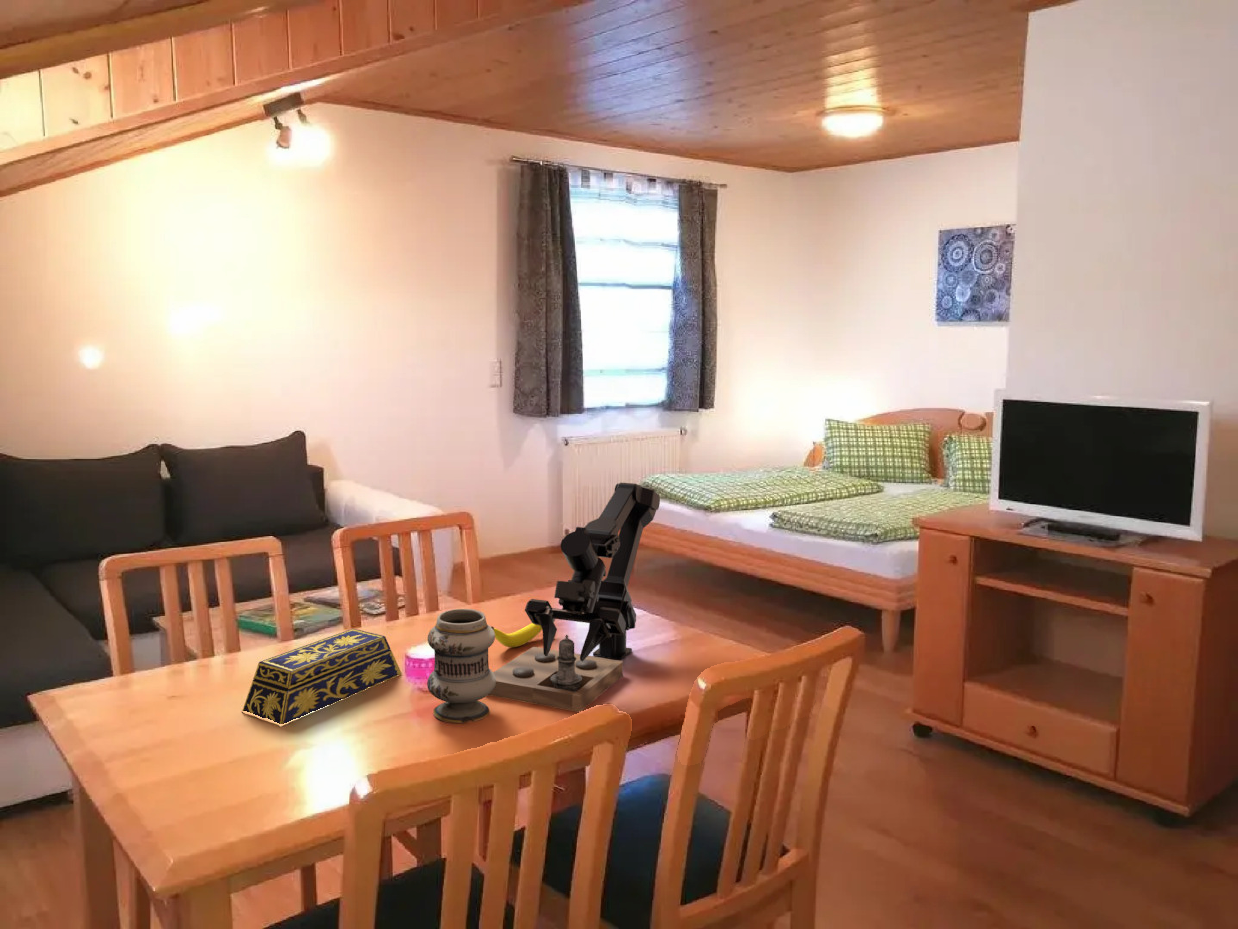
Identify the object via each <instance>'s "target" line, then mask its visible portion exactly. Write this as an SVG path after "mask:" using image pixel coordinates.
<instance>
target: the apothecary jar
mask: <svg viewBox="0 0 1238 929" xmlns="http://www.w3.org/2000/svg"><path fill="white" fill-rule="evenodd" d="M487 622H488V621H487V618H486V615H485V613H484V612H482V611H480V610H477V609H472V608H455V609H449V610H445V611H442V612H441V613H440V614H438V615H437V619H436V623H435V625H434V626H433V627H432V628H431V629H430V630H429V633H428V634H427V643H428V645H429V647H430V648H431V649H432V650H433V651H434V665H433V666H434V668H433V671H431V673H430V674H429V676H428V677H427V678H428V679H427V681H426V684H427V689H428V691H429V693H430V694H431V695H432V696H433V697H435V698H436V699H438V700H440V701H443V702H442V703H440V704H439V705H437V706H436V707H434V710H433V716H434V717H435V718H436V719H437V720H440V721H442V722H445V723H450V724H464V723H466V722H477V721H480V720H483V719H485V718H486V717H488V715H489V714H490V708H489V706H488V705H487V704H485V702H482V701H481V700H482V699H484V698H486V697H487V696H490V695H489V694H490V693H491V691H492V690H493V689H494V687H495V684H496V678H495V675H494V673H493V672H494V671H493V670H491V669H490V667H489V648H490V647H492V646H493V644H494V642H495V640H496V638H495V633H494V631H493V629H492V628H491V625H489V624H488V623H487Z"/></svg>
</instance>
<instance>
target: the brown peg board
mask: <svg viewBox="0 0 1238 929" xmlns="http://www.w3.org/2000/svg"><path fill="white" fill-rule="evenodd" d="M580 655H581V653H580V654H579V653H575V652H574V657H576V660H575V673H576V674H579V675H580V676H581V677H582V680H581V681H580V685H579V688H578V689H577V690H576V692H573V691H567V690H562V689H556V688H554V687H553V684H552V681H551V676H553V675H554V674H557V672H558V660H557V657H558V656H559V650H555V649H550V651H549V653H548V655H547V656H545V655H544V652H543V647H539V646H538V647H537V646H532V647H531V648H528V650H526V651H525V652H523V653H521V654H520V655H518V656H516V657H515V658H513V659H512V660H510V661H508V662H507V663H506V664H504V665H502V666H501V667H500V668H498V669H496V670H495V671H492V672H493V673H494V675H495V678H496V684H495V687H494V689H493V690H492V691H491V693H490V694H489V695H488V696H491V697H496V698H503V699H508V700H512V701H519V702H523V703H529V704H534V705H539V706H545V707H551V708H556V709H560V710H567V711H573V712H578V713H580V712H579V711H581V712H582V711H583V710H584V709H585V708H586V707H588V706H589V705H591V704H592V703H593V702H594V701H596V699H598V698H599V697H600V696H601V695H603V693H604V692H606V691H607V690H608V689H609V688H611V686H613V685H614V684H615V683H616V682H618V680H620V679H621V678H622V677H623V676H624V661H623V660H619V659H613V658H606V657H600V656H594V655H593V656H591V655H588V656H587V657H586V658H585V660H584V661H581V660H580Z"/></svg>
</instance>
